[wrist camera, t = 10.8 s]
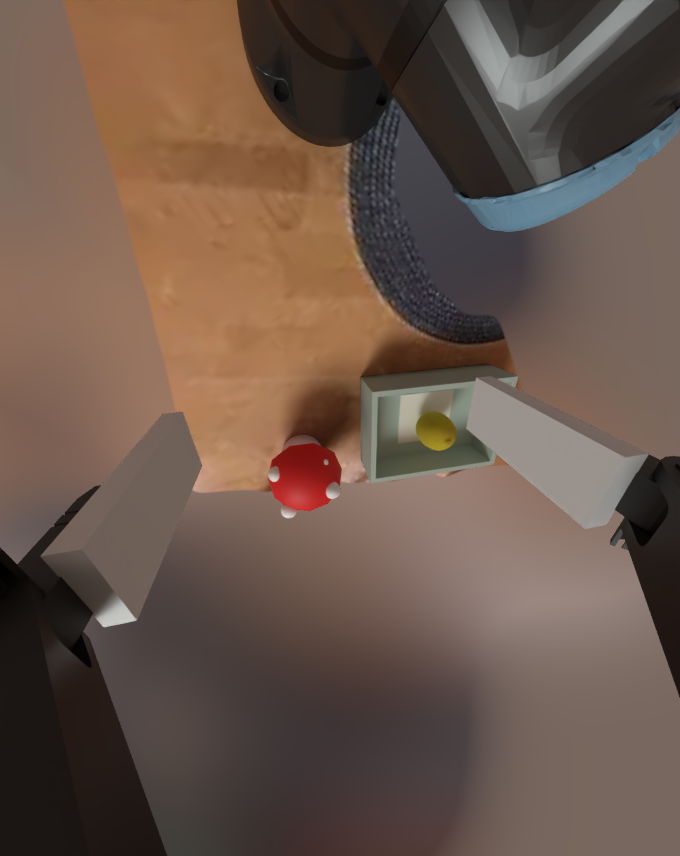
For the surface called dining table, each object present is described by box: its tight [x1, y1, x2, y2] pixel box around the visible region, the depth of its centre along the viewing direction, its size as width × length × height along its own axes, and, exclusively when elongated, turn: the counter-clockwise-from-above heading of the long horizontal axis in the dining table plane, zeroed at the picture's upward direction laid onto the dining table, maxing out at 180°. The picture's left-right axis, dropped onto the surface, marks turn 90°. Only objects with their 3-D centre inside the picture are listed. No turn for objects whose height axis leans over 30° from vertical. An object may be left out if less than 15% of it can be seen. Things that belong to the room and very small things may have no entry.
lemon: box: [416, 412, 457, 451], centre depth 43 cm, size 6×6×8 cm
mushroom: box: [268, 435, 342, 518], centre depth 42 cm, size 11×11×12 cm
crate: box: [360, 364, 518, 483], centre depth 45 cm, size 16×22×6 cm
